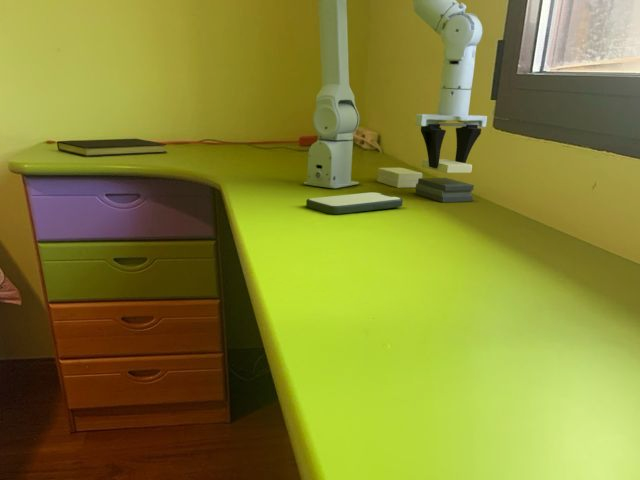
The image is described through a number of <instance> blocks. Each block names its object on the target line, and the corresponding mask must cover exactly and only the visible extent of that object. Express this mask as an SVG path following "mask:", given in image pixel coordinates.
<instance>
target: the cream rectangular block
mask: <svg viewBox="0 0 640 480" xmlns="http://www.w3.org/2000/svg"><path fill="white" fill-rule="evenodd" d="M419 178H423V173H422V172H419V171H417V170H416V171H415V170H412V169H408V168H404V167H378V168H377V175H376V181H377V182H378V183H380V184H383V185H388V186H391V187H393V188H397V189H399V188H400V189H401V188H416V184H417V183H418V179H419Z"/></svg>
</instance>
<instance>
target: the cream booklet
mask: <svg viewBox="0 0 640 480" xmlns="http://www.w3.org/2000/svg"><path fill="white" fill-rule="evenodd" d="M421 167H422V168H425V169H430V170H433V171H436V172H437V171H438V172H441V173H445V174H471V173H472V171H473V164H470V163H467V162H466V163H462V162H457V161H455V160H452V159H448V158H439V163H438V167H437V168H432V167H429V161H428V158H424V159H422V162H421Z"/></svg>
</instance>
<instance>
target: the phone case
mask: <svg viewBox="0 0 640 480" xmlns="http://www.w3.org/2000/svg"><path fill="white" fill-rule="evenodd" d="M403 201H404V200H403V198H401V197H397V196H394V195H389V194H385V193H380V192H362V193H360V192H359V193H351V194H342V195H340V194H339V195H333V196H332V195H331V196H321V197H312V198H308V199H306V201H305V206H306V208H309V209H312V210H315V211H317V212H318V211H319V212H321V213H325V214H329V215H341V214H351V213H359V212H367V211H375V210H385V209H396V208H402V206H403Z"/></svg>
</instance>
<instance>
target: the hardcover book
mask: <svg viewBox="0 0 640 480" xmlns="http://www.w3.org/2000/svg"><path fill="white" fill-rule="evenodd" d="M56 146H57V150H58V151H59V152H62V153H63V152H64V153H68V154H72V155H77V156H80V157H85V158H94V157H114V156H115V157H117V156H131V155H133V156H134V155H135V156H136V155H152V154H155V155H156V154H166V153H167V151H166V147H165V146H167V144H166V143H163V142H159V141H152V140H146V139H141V138H112V139H87V140H86V139H83V140H82V139H81V140H78V139H77V140H58V141H57V142H56Z"/></svg>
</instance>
